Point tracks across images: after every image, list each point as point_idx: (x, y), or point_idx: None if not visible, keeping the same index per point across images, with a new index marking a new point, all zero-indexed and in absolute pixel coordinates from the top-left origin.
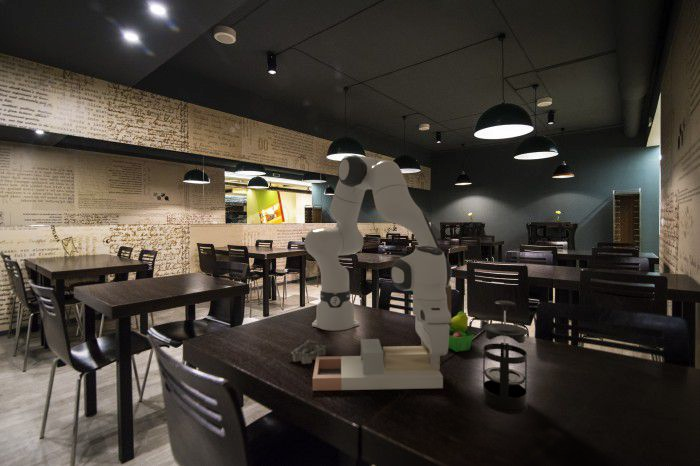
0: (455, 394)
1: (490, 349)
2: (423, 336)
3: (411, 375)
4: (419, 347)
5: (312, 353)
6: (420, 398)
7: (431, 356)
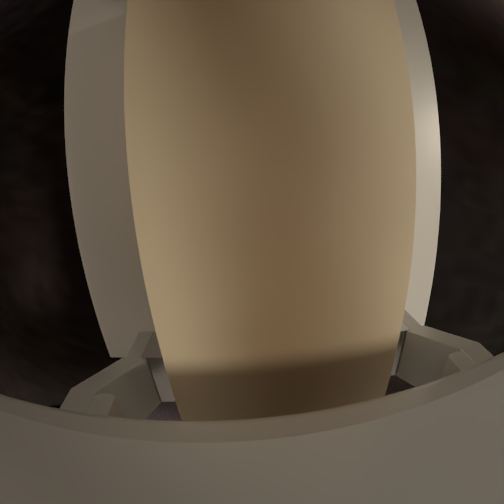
0: (90, 353)
1: None
2: (280, 493)
3: (83, 171)
4: (368, 312)
5: None
6: (29, 206)
7: (90, 379)
